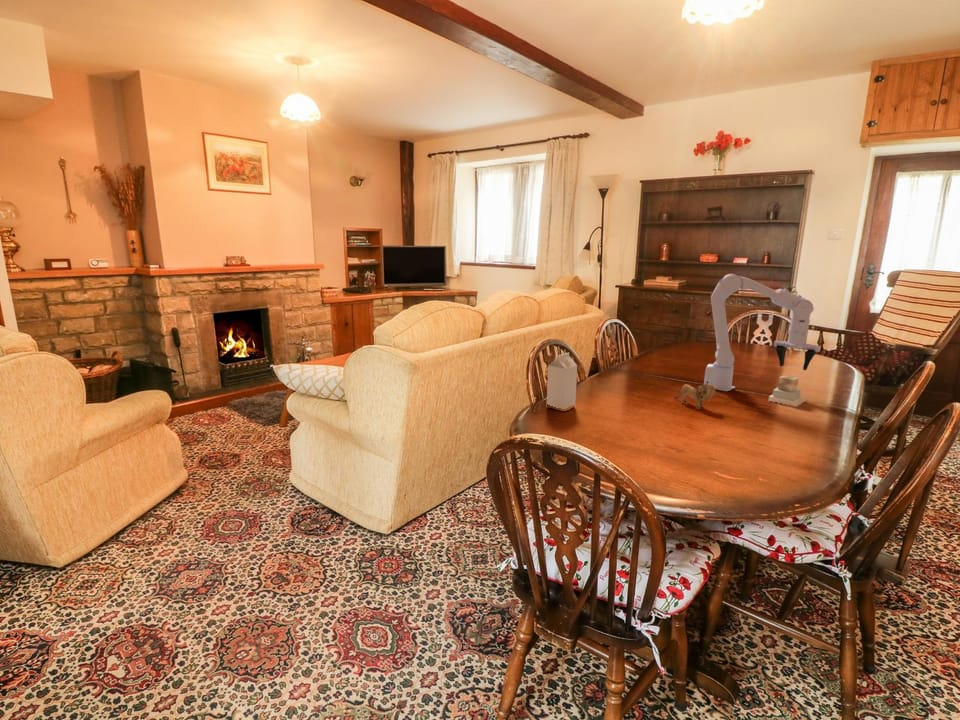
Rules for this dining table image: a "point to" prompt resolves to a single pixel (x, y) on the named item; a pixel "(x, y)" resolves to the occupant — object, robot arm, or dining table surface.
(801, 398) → the bottom slab
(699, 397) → the lion figurine
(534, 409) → the dining table surface
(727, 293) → the robot arm
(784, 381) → the birch block
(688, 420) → the dining table surface
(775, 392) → the top slab
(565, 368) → the milk carton
